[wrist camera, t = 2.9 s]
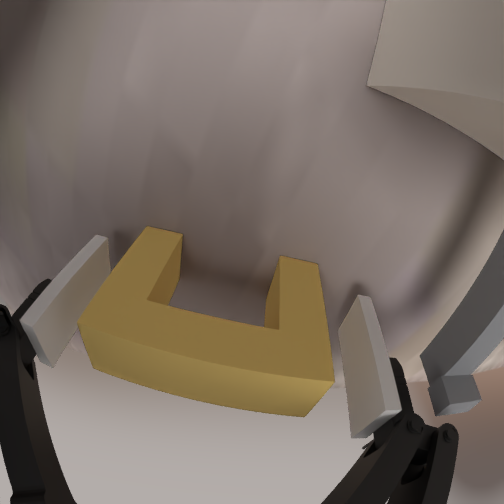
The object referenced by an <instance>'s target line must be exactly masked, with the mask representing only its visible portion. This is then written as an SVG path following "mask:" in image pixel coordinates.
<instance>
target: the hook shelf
mask: <svg viewBox="0 0 504 504" xmlns="http://www.w3.org/2000/svg"><path fill="white" fill-rule="evenodd" d="M366 86H368V87H371V88H373V89H376V90H379V91H381V92H383V93H386V94H388V95H391V96H393V97H395V98H397V99H400V100H402V101H404V102H406V103H408V104H410V105H413V106H415V107H417V108H419V109H421V110H423V111H425V112H427V113H429V114H431V115H432V116H434V117H436V118H438V119H440V120H442V121H444V122H445V123H447V124H449V125H451V126H452V127H454V128H456V129H458V130H459V131H461V132H463V133H464V134H466V135H467V136H469V137H471V138H472V139H474V140H475V141H477V142H478V143H480V144H481V145H483V146H484V147H486V148H487V149H489V150H490V151H492V152H493V153H494V154H496V155H497V156H499V157H500V158H501V159H503V160H504V0H386V3H385V8H384V13H383V18H382V23H381V27H380V32H379V36H378V40H377V45H376V49H375V53H374V57H373V61H372V65H371V69H370V73H369V77H368V80H367V84H366ZM503 338H504V230H503V232H502V234H501V236H500V238H499V240H498V242H497V244H496V246H495V248H494V250H493V251H492V253H491V255H490V257H489V259H488V260H487V262H486V264H485V266H484V267H483V269H482V271H481V272H480V274H479V276H478V277H477V279H476V280H475V282H474V284H473V285H472V287H471V288H470V290H469V291H468V293H467V294H466V296H465V297H464V299H463V300H462V302H461V303H460V305H459V306H458V307H457V309H456V310H455V312H454V313H453V314H452V316H451V317H450V319H449V320H448V321H447V323H446V324H445V325H444V326H443V328H442V329H441V330H440V332H439V333H438V334H437V335H436V337H435V338H434V339H433V340H432V342H431V343H430V344H429V345H428V346H427V348H426V349H425V350H424V351H423V352H422V354H421V355H420V358H421V360H422V363H423V366H424V369H425V372H426V375H427V378H428V382H429V385H430V387H429V388H428V391H429V395H430V398H431V402H432V405H433V409H434V412H435V416H440V415H448V414H455V413H461V412H467V411H469V410H470V409H471V408H473V407H474V406H475V405H476V404H477V403H479V402H480V401H481V400H482V399H481V396H480V393H479V391H478V388H477V385H476V383H475V380H474V378H473V375H471V374H472V373H473V372H474V370H475V369H476V368H477V367H478V366H479V365H480V364H481V363H482V362H483V361H484V360H485V359H486V358H487V357H488V356H489V354H490V353H491V352H492V351H493V350H494V349H495V348H496V347H497V345H498V344H499V343H500V342H501V341H502V339H503Z"/></svg>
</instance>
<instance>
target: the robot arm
mask: <svg viewBox="0 0 504 504" xmlns="http://www.w3.org/2000/svg"><path fill="white" fill-rule="evenodd" d="M110 273H111V267H110V257H109V245H108V237H104V236H100V235H95V236H94V237H93V238H92V239H91V240H90V241H89V242H88V243H87V244H86V245H85V246H84V247H83V248H82V249H81V250H80V251H79V252H78V253H77V254H76V255H75V256H74V258H73V259H72V260H71V261H70V262H69V263H68V264H67V265H66V266H65V267H64V268H63V269H62V270H61V271H60V273H59V274H58V275H57V276H56V277H55V278H54V279H53V280H50V279H46V280H45V281H43V282H41V283H40V284H39V285H38V286H37V287H36V288H35V289H34V290H33V293H31V294H30V295H29V296H28V298H26V300H25V301H24V302H23V303H22V304H21V306H20V307H19V308H18V309H17V310H16V312H15V313H14V314H13V315H12V317H11V315H10V312H9V310H8V308H7V307H6V306H4V305H2V304H0V445H1V449H2V454H3V458H4V462H5V466H6V469H7V473H8V477H9V480H10V483H11V486H12V490H13V495H12V496H11V498H10V504H77V503H76V502H75V501H74V499H73V497H72V494H71V492H70V490H69V487H68V485H67V483H66V480H65V478H64V475H63V472H62V470H61V467H60V464H59V461H58V458H57V456H56V453H55V450H54V447H53V443H52V440H51V436H50V433H49V429H48V426H47V422H46V418H45V414H44V410H43V405H42V401H41V396H40V391H39V385H38V380H37V373H36V367H35V362H34V357H35V356H36V354H37V356H38V358H39V360H40V361H41V362H42V363H44V364H46V365H48V366H50V367H52V368H53V367H54V366H55V364H56V362H57V361H58V359H59V357H60V356H61V354H62V352H63V351H64V349H65V347H66V346H67V344H68V343H69V341H70V339H71V338H72V336H73V335H74V333H75V332H76V330H77V328H78V325H77V321H78V319H79V318H80V316H81V315H82V313H83V312H84V310H85V309H86V307H87V306H88V304H89V303H90V301H91V300H92V299H93V297H94V296H95V294H96V293H97V291H98V290H99V288H100V287H101V286H102V284H103V283H104V281H105V280H106V279H107V277H108V276H109V275H110ZM338 336H339V342H340V349H341V355H342V362H343V370H344V377H345V385H346V393H347V401H348V410H349V420H350V431H351V438H367V437H368V436H370V435H371V434H372V433H373V434H374V439H373V440H372V441H370V442H369V443H368V444H366V445H365V446H364V447H363V448H362V449H365V448H366V447H367V448H366V449H365V451H364V452H363V454H362V455H361V456H360V458H359V459H358V460H357V462H356V463H355V464H354V465H353V467H352V468H351V469H350V471H349V472H348V473H347V474H346V476H345V477H344V478H343V479H342V480H341V482H340V483H339V484H338V485H337V486H336V487H335V489H334V490H333V491H332V492H331V493H330V494H329V495H328V497H327V498H326V499H325V500H324V501H323V502H322V503H321V504H385V503H386V502H387V500H388V499H389V500H388V503H387V504H447V499H448V496H449V492H450V487H451V482H452V478H453V473H454V467H455V461H456V455H457V448H458V440H459V436H458V432H457V430H456V428H455V427H454V426H453V425H452V424H449V423H445V424H443V425H442V426H440V427H439V428H436V427H432V426H429V425H426V424H425V423H424V421H423V419H422V418H421V417H420V416H419V415H417V414H415V413H414V411H413V407H412V403H411V399H410V395H409V391H408V387H407V386H406V384H407V383H406V379H405V378H404V377H405V376H404V372H403V369H402V366H401V365H400V363H399V362H398V360H397V359H396V358H389V356H388V352H387V348H386V345H385V341H384V338H383V335H382V331H381V328H380V325H379V322H378V318H377V315H376V312H375V309H374V306H373V303H372V300H371V297H367V296H362V295H357V297H356V299H355V301H354V303H353V305H352V306H351V308H350V310H349V312H348V314H347V315H346V317H345V319H344V321H343V322H342V324H341V326H340V327H339V329H338ZM389 497H390V498H389Z"/></svg>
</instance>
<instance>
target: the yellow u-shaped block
mask: <svg viewBox="0 0 504 504" xmlns="http://www.w3.org/2000/svg"><path fill="white" fill-rule="evenodd" d="M182 239H183V234H181V233H176V232H172V231H167V230H163V229H158V228H153V227H149V226H147V227H146V228H145V229H144V230H143V231H142V233H141V234H140V235H139V236H138V238H137V239H136V240H135V242H134V243H133V244H132V245H131V247H130V248H129V249H128V251H127V252H126V253H125V254H124V256H123V257H122V258H121V260H120V261H119V262H118V264H117V265H116V266H115V268H114V269H113V270H112V272H111V273H110V275H109V276H108V277H107V279H106V280H105V281H104V283H103V284H102V286H101V287H100V288H99V290H98V291H97V293H96V294H95V296H94V297H93V299H92V300H91V301H90V303H89V304H88V306H87V307H86V309H85V310H84V312H83V313H82V315H81V316H80V318H79V319H78V321H77V325H78V328H79V331H80V334H81V337H82V339H83V342H84V345H85V348H86V351H87V353H88V356H89V358H90V361H91V364H92V366H93V368H94V369H97V370H99V371H101V372H104V373H107V374H109V375H112V376H115V377H118V378H121V379H124V380H127V381H129V382H133V383H136V384H139V385H142V386H145V387H148V388H152V389H155V390H158V391H162V392H165V393H169V394H173V395H177V396H181V397H184V398H189V399H193V400H197V401H202V402H206V403H211V404H215V405H220V406H225V407H231V408H237V409H242V410H249V411H255V412H262V413H269V414H277V415H286V416H296V417H305V416H306V415H307V414H308V413H309V412H310V411H311V409H312V408H313V407H314V406H315V405H316V404H317V403H318V401H319V400H320V399H321V398H322V397H323V396H324V394H325V393H326V392H327V391H328V390H329V388H330V387H331V386H332V385H333V383H334V382H335V379H334V370H333V362H332V354H331V346H330V339H329V332H328V325H327V318H326V311H325V305H324V298H323V292H322V286H321V280H320V275H319V269H318V264H316V263H312V262H307V261H303V260H298V259H294V258H289V257H285V256H280V257H279V260H278V264H277V267H276V270H275V273H274V276H273V279H272V282H271V286H270V289H269V292H268V295H267V298H266V308H265V322H264V327H260V326H255V325H250V324H245V323H240V322H236V321H231V320H226V319H222V318H217V317H213V316H208V315H204V314H200V313H196V312H192V311H187V310H183V309H179V308H175V307H171V306H168V304H169V302H170V299H171V297H172V295H173V293H174V290H175V288H176V286H177V284H178V281H179V278H180V264H181V251H182Z"/></svg>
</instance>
